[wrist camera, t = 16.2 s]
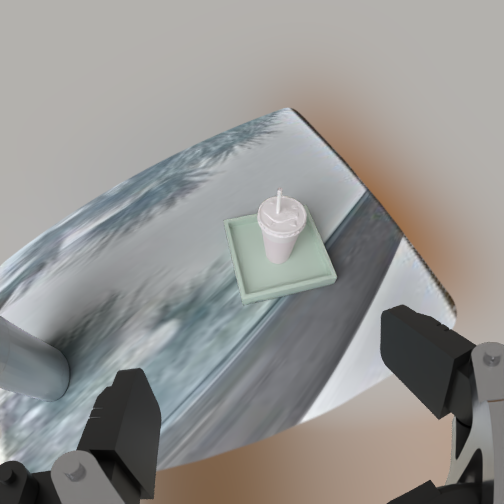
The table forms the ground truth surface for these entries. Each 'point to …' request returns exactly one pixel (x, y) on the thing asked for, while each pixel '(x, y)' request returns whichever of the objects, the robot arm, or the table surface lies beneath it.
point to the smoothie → (280, 225)
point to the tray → (276, 275)
